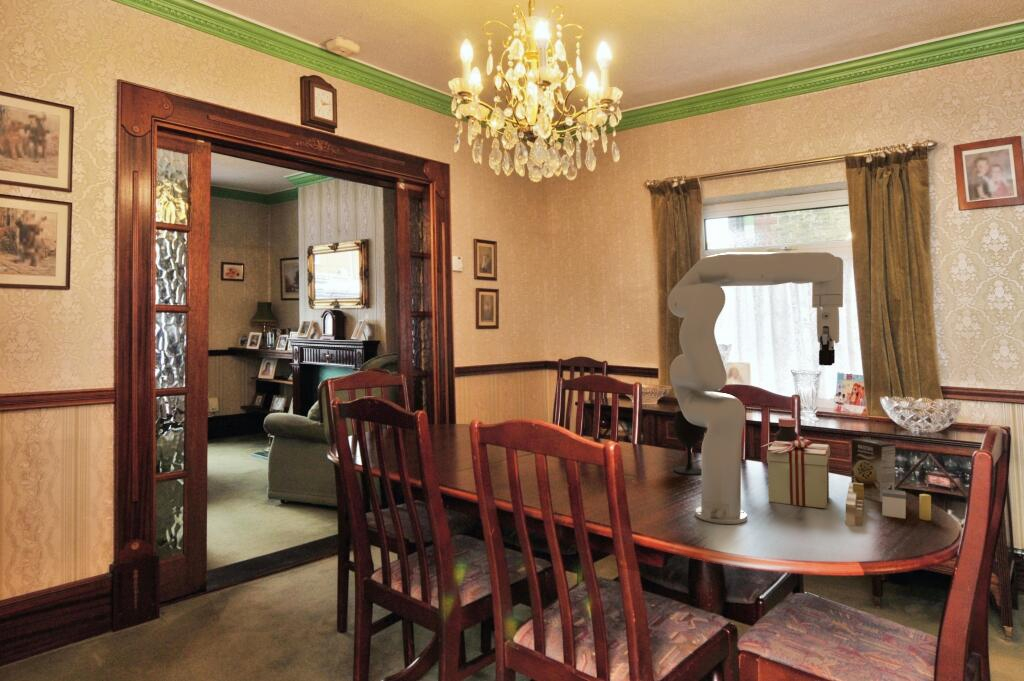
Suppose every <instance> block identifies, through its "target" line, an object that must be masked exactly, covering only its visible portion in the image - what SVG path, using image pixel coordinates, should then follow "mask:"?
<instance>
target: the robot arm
mask: <svg viewBox="0 0 1024 681" xmlns="http://www.w3.org/2000/svg"><path fill="white" fill-rule="evenodd" d="M788 283H791V284H796V285H797V284H798V285H801V284H812V285H811V287H812V288H811V293H812V294H811V296H812V297H811V298H812V300H811V305H812V306H811V307H812V308H813V309H816V337H817V338H816V339H817V342H818V343H819V350H818V365H819V366H828V367H829V366H832V365H833V364H835V359H836V358H835V357H836V354H835V353H836V352H835V351H836V350H835V344H838V343H840V310H839V308H843V307H844V260H843V259H842V258H841V257H840V256H835V255H834V254H832V253H830V252H826V251H825V252H824V251H820V252H819V251H811V252H810V251H808V252H807V251H805V252H801V251H800V252H725V253H719V254H713V255H707V256H704V257H702V258H701V259H700V260H698V261H697V262H695V264H694V265H693V266H692V267H690V269H689V270H688V271H687V272H686V273H685V275H684V276H683V277H682V278H681V279H680V280H679V281H678V282H677V283H676V284H675V286H673V288H672V289H671V291H670V293H669V294H668V298H667V305H668V306H667V307H668V309H669V311H670V312H671V313H672V315H674V316H676V317H678V318H681V319H682V318H683V320H682V322H681V325H680V328H679V333H678V334H679V336H678V338H679V344H680V348H681V351H682V354H678V355H677V356H676V357H675V358H674V359H673V360H672V362H671V364H670V368H669V378H670V382H671V386H672V388H673V391H674V395H675V397H676V399H677V402H678V405H679V408H680V411H682V413H683V415H684V417H685V418H686V419H687V421H689V422H690V423H692V424H694V425H697V426H701V427H706V429H707V430H706V431H705V434H704V437H703V438H702V442H701V443H702V444H701V453H700V454H701V469H702V474H701V479H700V480H701V482H700V484H701V485H700V486H701V488H700V489H701V492H700V493H701V494H700V495H701V496H700V498H701V499H700V500H701V502H700V506H698V507H696V508H695V509H694V513H695V514H694V515H695V517H696V518H698V519H700V520H703V521H706V522H710V523H715V524H721V525H735V524H738V525H739V524H742V523H745V522H746V521H747V520H748V514H747V513H746V512H745V511H744V510H742V507H741V504H742V503H741V502H742V500H741V499H742V498H741V497H742V491H741V490H742V489H741V488H742V486H741V485H742V436H743V431H744V426H745V422H746V415H747V413H746V409H745V406H744V404H743V403H742V401H741V400H740V399H739V398H738V397H736V396H733V395H731V394H728V393H723V392H718V391H720V390H722V389H723V388H725V386H726V384H727V381H728V375H727V371H726V370H727V369H726V368H725V364H724V362H723V358H722V355H721V353H720V350H719V346H718V344H717V339H716V336H715V328H716V324H717V320H718V318H719V316H720V315H721V313H722V311H723V310H724V307H725V304H726V294H725V291H724V289H723V288H722V287H745V286H746V287H748V286H753V287H754V286H759V287H761V286H776V285H783V284H788Z"/></svg>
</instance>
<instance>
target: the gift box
mask: <svg viewBox="0 0 1024 681" xmlns="http://www.w3.org/2000/svg"><path fill="white" fill-rule="evenodd" d="M812 442H813V441H812V440H808V439H807V438H804V437H803V436H800V435H799V436H797V439H796V441H792V442H783V441H775V440H774V441H771V442H768V443H766V444H763V445H762V446H760V448H761V449H763V448H766V447H768V446H769V447H768V448H767V449H766V462H767V465H768V467H767V469H768V471H767V472H768V473H767V474H768V475H767V476H768V477H767V478H768V503H775V504H783V505H791V506H798V507H809V508H816V509H823V510H824V509H827V507H828V504H829V502H830V498H829V497H830V481H829V480H830V479H829V478H830V475H829V474H830V473H829V472H830V468H829V465H830V464H829V463H830V462H829V459H830V455H831V449H830V448H831V446H830V444H823V443H812Z"/></svg>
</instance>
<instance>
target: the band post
mask: <svg viewBox="0 0 1024 681" xmlns="http://www.w3.org/2000/svg"><path fill="white" fill-rule="evenodd" d="M918 505H919V508H918V509H919V514H918V516H919V517H918V519H920V520H924V521H931V520H932V496H931V495H930V494H927V493H919V504H918Z"/></svg>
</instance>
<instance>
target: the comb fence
mask: <svg viewBox="0 0 1024 681" xmlns="http://www.w3.org/2000/svg"><path fill="white" fill-rule="evenodd" d="M864 505H865V498H864V488H863V483H854V482H853V483H851V482H849V483H848V490H847V495H846V501H845V520H844V521H845V522H844V523H845V525H847V526H848V525H849V526H858V527H862V526H863V516H864V513H863V512H864Z"/></svg>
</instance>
